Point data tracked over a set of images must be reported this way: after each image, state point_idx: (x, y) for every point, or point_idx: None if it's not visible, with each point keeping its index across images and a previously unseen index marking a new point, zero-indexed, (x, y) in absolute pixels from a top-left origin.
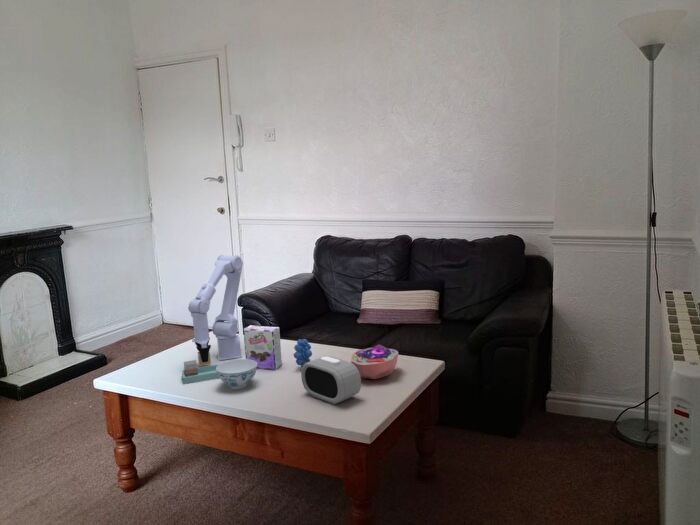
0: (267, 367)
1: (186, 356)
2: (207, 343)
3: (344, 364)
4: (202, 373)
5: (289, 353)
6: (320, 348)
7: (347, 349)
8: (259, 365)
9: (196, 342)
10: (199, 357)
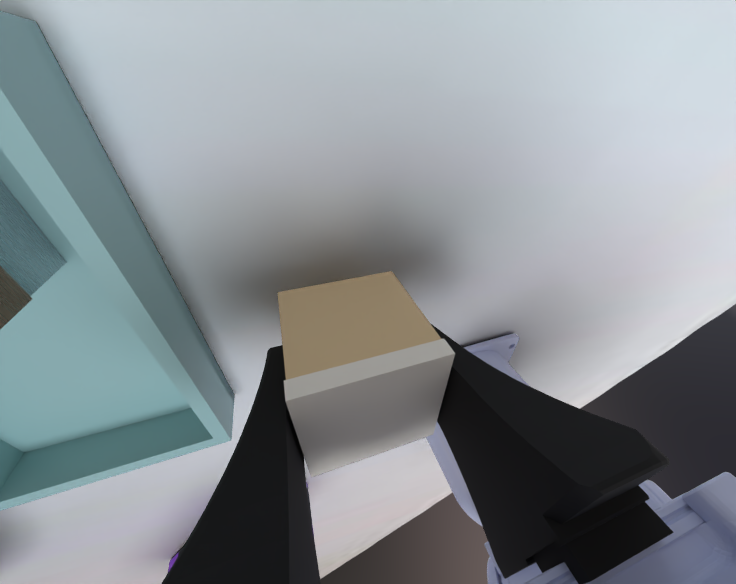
0: None
1: (680, 134)
2: (485, 524)
3: None
4: (111, 311)
5: (361, 515)
6: (363, 542)
7: (325, 573)
8: None
9: (616, 490)
10: (285, 374)
